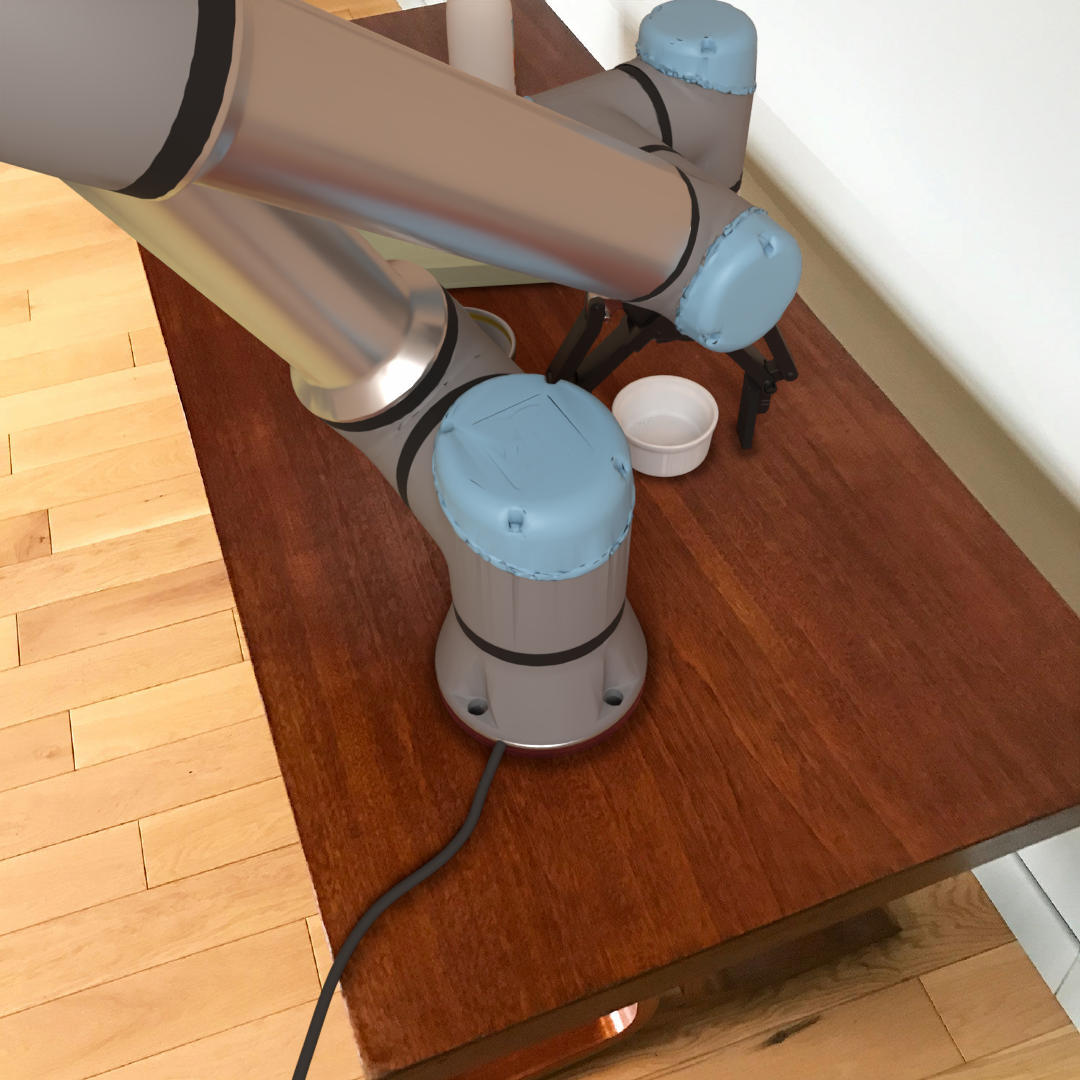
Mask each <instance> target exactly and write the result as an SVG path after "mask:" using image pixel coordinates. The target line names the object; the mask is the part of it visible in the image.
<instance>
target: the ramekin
mask: <svg viewBox="0 0 1080 1080" xmlns="http://www.w3.org/2000/svg"><path fill="white" fill-rule="evenodd" d="M715 399H716V398H715V397H714V396H713V395H712V393H711V392H710V391H709V390H708V389H707V388H705V386H702V385H701V384H700V383H698V382H696V381H693V380H691V379H688V378H685V377H682V376H677V375H670V374H669V375H666V374H660V375H659V374H657V375H650V376H646V377H642V378H638V379H637V380H634V381H632V382H630V383H628V384H627V385H625V386H624V387H623V388H622V389H621V390H620V391H618V393H617V394H616V396H615V398H614V399H613V402H612V405H611V413H612V414H613V415H614V416H615V418H616V419H617V421H618V422H619V424H620V426H621V427H622V429H623V431H624V434H625V436H626V439H627V441H628V445H629V448H630V453H631V460H632V470H633V469H634V470H635V471H637V472H640V473H642V474H645V475H647V476H651V477H659V478H661V477H662V478H669V477H677V476H681V475H684V474H688V473H689V472H691V471H693V470H695V469H696V468H698V467H699V466H700V465H701V464H702V463H703V461H705V459H706V457H707V456H708V454H709V453H708V452H709V449H710V445H711V443H712V442H711V441H712V438H713V434H714V431H715V429H716V426H717V424H718V420H719V407H718V403H717V401H716V400H715Z"/></svg>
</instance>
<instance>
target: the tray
mask: <svg viewBox="0 0 1080 1080" xmlns="http://www.w3.org/2000/svg"><path fill="white" fill-rule="evenodd" d="M355 229H356V230H357V231H358V232H359V233H360V234H361V235H362V236H363V237H364V238H365V239H366V240H367V241H368V242H369V243H370V245H371V246H372V247H373V248H374V249H375V250H376V251H377V252H378V253H379V254H380V255H381V256H382V257H383V258H384V259H385V260H391V259H397V260H405V261H409V262H413V263H415V264H417V265H420V266H421V267H423V268H424V269H425V270H427V271H428V272H429V273H431V274H432V275H433V276H434V277H435V278H436V280H437V281H438V282H439V283H440V284H441V285H442V286H443V287H444V288H445V289H446V290H447V289H461V288H463V289H464V288H476V287H477V288H478V287H495V286H496V287H497V286H510V285H511V286H512V285H529V284H545V283H546V284H547V283H548V284H549V283H551V282H550V281H547V280H543V279H539V278H536V277H532V276H528V275H525V274H521V273H517V272H514V271H510V270H506V269H503V268H499V267H496V266H492V265H488V264H485V263H481V262H477V261H474V260H470V259H466V258H463V257H459V256H455V255H452V254H448V253H444V252H441V251H437V250H434V249H430V248H426V247H423V246H419V245H415V244H412V243H408V242H404V241H401V240H397V239H393V238H390V237H386V236H382V235H379V234H375V233H372V232H368V231H364V230H361V229H357V228H355Z"/></svg>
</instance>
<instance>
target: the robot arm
mask: <svg viewBox="0 0 1080 1080" xmlns="http://www.w3.org/2000/svg"><path fill="white" fill-rule="evenodd" d="M758 39H759V38H758V31H757V27H756V25H755V23H754V21H753V20H752V18H751V17H750V16H749V15H748V14H747V13H746V12H745V11H743V10H742V9H739V8H737V7H735V6H734V5H732V4H731V3H728V2H726V1H722V0H669V1H666V2H662V3H660V4H658V5H656V6H654V7H653V8H652V10H651V11H650V13H647V14H646V15H645V16H644V17H643V18H642V19H641V22H640V24H639V28H638V37H637V41H636V42H635V44H634V46H635V54H636V56H635V57H634V58H632V59H631V60H626V61H624V62H622V63H618V64H617V65H615V66H614V67H613V68H610V69H607V70H604V71H601V72H598V73H595V74H592V75H589V76H585V77H582V78H580V79H577V80H574V81H571V82H568V83H565V84H562V85H559V86H555V87H553V88H550V89H547V90H544V91H541V92H538V93H534V94H532V95H526V96H525V95H524V96H520V95H518V94H517V93H516V94H514V93H511V92H509V91H507V90H505V89H502V88H500V87H498V86H496V85H493V84H491V83H489V82H486V81H484V80H482V79H480V78H477V77H475V76H473V75H470V74H468V73H466V72H464V71H461V70H459V69H457V68H455V67H452V66H450V65H449V63H448V64H447V63H445V62H444V61H441V60H439V59H436V58H435V57H432V56H429V55H427V54H425V53H423V52H421V51H418V50H416V49H413V48H412V47H409V46H407V45H404V44H402V43H400V42H398V41H396V40H394V39H391V38H389V37H386V36H385V35H382V34H380V33H377V32H375V31H373V30H371V29H368V28H366V27H365V26H364V27H363V26H361V25H359V24H357V23H354V22H352V21H350V20H348V19H346V18H343V17H340V16H339V15H336V14H334V13H332V12H329V11H327V10H325V9H323V8H321V7H318V6H317V5H316V6H315V5H313V4H312V3H309V2H306V1H304V0H0V163H3V164H6V165H10V166H14V167H18V168H21V169H24V170H28V171H31V172H36V173H38V174H42V175H46V176H49V177H53V178H57V179H58V180H60V181H61V182H63V183H64V184H65V185H66V186H67V187H69V188H70V189H71V190H73V191H74V192H75V193H76V194H77V195H78V196H80V197H81V198H82V199H84V200H85V201H86V202H88V203H89V204H90V205H91V206H92V207H93V208H95V209H96V210H97V211H99V212H100V213H101V214H102V215H103V216H105V217H106V218H107V219H109V220H110V221H111V222H112V223H113V224H115V225H116V226H118V227H119V228H120V230H122V231H124V232H125V233H126V234H127V235H128V236H130V237H131V238H132V239H133V240H135V241H136V242H137V243H139V244H140V245H141V246H142V247H143V248H145V249H146V250H147V251H148V252H149V253H151V254H152V255H153V256H155V257H156V258H157V259H158V260H159V261H161V262H162V263H163V264H165V265H166V266H167V267H168V268H169V269H171V270H172V271H173V272H175V274H177V275H178V276H179V277H181V279H183V280H185V281H186V282H187V283H188V284H189V285H190V286H192V287H193V288H194V289H196V290H197V291H198V292H199V293H200V294H202V295H203V296H204V297H205V298H207V299H208V300H209V301H210V302H212V303H213V304H214V305H215V306H217V307H218V308H219V309H221V310H222V311H223V312H224V313H226V315H228V316H229V317H230V318H232V319H233V320H234V321H235V322H237V323H238V324H239V325H240V326H242V327H243V328H244V329H245V330H247V331H248V332H249V333H251V334H252V335H253V336H254V337H255V338H257V339H258V340H259V341H260V342H261V343H263V345H265V346H266V347H268V348H269V349H270V350H271V351H273V352H274V353H275V354H276V355H278V356H279V357H280V358H281V359H282V360H284V361H285V362H286V363H288V364H289V373H290V381H291V385H292V388H293V390H294V393H295V395H296V397H297V398H298V400H299V401H300V403H301V404H302V405H303V406H304V407H305V408H306V409H307V410H308V411H309V412H311V413H312V414H313V415H314V416H315V417H317V418H318V419H320V420H321V421H322V422H324V423H325V424H326V425H327V426H328V427H330V428H331V429H333V430H334V431H335V432H336V433H338V434H339V435H341V436H342V437H343V438H344V439H345V440H346V441H348V442H349V443H351V444H352V445H353V446H355V447H356V448H357V449H358V450H359V451H360V452H361V453H362V454H363V455H364V456H365V457H366V458H368V460H369V461H370V462H371V463H372V464H373V465H374V466H375V467H376V469H377V470H378V471H379V472H380V473H381V475H382V476H383V477H384V478H385V479H386V481H387V482H388V483H389V485H390V486H391V488H392V489H393V490H394V491H395V492H396V493H397V495H398V496H399V498H400V499H401V500H402V501H403V503H404V504H405V506H407V508H408V509H409V510H410V511H411V513H412V514H413V515H414V517H415V518H416V520H417V521H418V522H419V523H420V525H421V526H422V527H423V528H424V530H425V531H426V532H427V533H428V534H429V536H430V537H431V538H432V539H433V541H434V542H435V543H436V544H437V546H438V548H439V549H440V551H441V553H442V554H443V556H444V559H445V561H446V564H447V568H448V569H447V570H448V577H449V584H450V593H451V599H452V600H451V603H450V606H449V609H448V611H447V614H446V616H445V619H444V621H443V623H442V626H441V628H440V631H439V634H438V638H437V642H436V646H435V651H434V652H435V653H434V669H435V676H436V682H437V685H438V686H437V687H438V691H439V695H440V698H441V700H442V703H443V705H444V707H445V708H446V710H447V712H448V714H449V715H450V716H451V718H452V720H453V721H454V722H455V723H456V724H457V725H458V726H459V728H461V730H462V731H464V732H465V733H466V734H467V735H469V737H471V738H472V739H474V740H475V741H477V742H479V743H480V744H482V745H484V746H486V747H487V748H489V749H492V751H491V753H490V756H489V758H488V759H487V763H486V766H485V768H484V771H483V773H482V775H481V777H480V780H479V782H478V785H477V788H476V790H475V793H474V796H473V799H472V803H471V807H470V808H469V811H468V814H467V817H466V818H465V821H464V823H463V824H462V826H461V827H460V829H459V830H458V832H457V833H456V834H455V836H454V837H453V838H452V839H451V841H450V842H449V843H448V844H447V845H446V846H445V847H443V849H442V850H440V852H438V853H437V854H436V855H435V856H434V857H433V858H431V859H430V860H429V861H428V862H426V863H425V864H423V865H422V866H421V867H420V868H418V869H417V870H415V871H413V872H412V873H411V874H409V875H408V876H407V877H405V878H403V879H402V880H401V881H399V882H398V883H397V884H395V885H394V886H392V887H391V888H390V889H389V890H388V891H386V892H385V893H383V895H382V896H381V897H379V898H378V899H377V901H375V902H374V903H373V904H372V905H371V906H370V907H369V908H368V910H366V911H365V912H364V913H363V915H362V917H361V918H360V919H359V920H358V922H357V923H356V925H355V926H354V927H353V928H352V930H351V932H350V933H349V935H348V936H347V938H346V939H345V940H344V942H343V944H342V946H341V948H340V950H339V951H338V953H337V954H336V957H335V959H334V960H333V963H332V964H331V967H330V969H329V971H328V973H327V975H326V978H325V981H324V983H323V986H322V988H321V991H320V993H319V996H318V999H317V1001H316V1005H315V1007H314V1011H313V1014H312V1017H311V1020H310V1023H309V1025H308V1029H307V1032H306V1035H305V1038H304V1041H303V1043H302V1044H303V1045H302V1047H301V1050H300V1053H299V1055H298V1058H297V1062H296V1064H295V1068H294V1071H293V1074H292V1077H291V1080H306V1079H307V1076H308V1072H309V1070H310V1066H311V1063H312V1060H313V1057H314V1054H315V1052H316V1048H317V1045H318V1042H319V1039H320V1036H321V1033H322V1029H323V1027H324V1023H325V1020H326V1018H327V1015H328V1011H329V1008H330V1005H331V1003H332V1002H331V1001H332V1000H333V998H334V995H335V991H336V988H337V987H338V984H339V981H340V979H341V977H342V975H343V972H344V970H345V969H346V967H347V964H348V962H349V960H350V959H351V957H352V955H353V953H354V952H355V949H356V948H357V947H358V945H359V943H360V941H361V940H362V939H363V937H364V936H365V934H366V933H367V931H368V930H369V929H370V928H371V926H372V925H373V923H374V922H375V921H376V920H377V919H378V918H379V917H380V916H381V915H382V914H383V912H385V911H386V910H387V909H388V908H389V907H390V906H391V905H392V904H393V903H395V902H396V901H397V900H399V898H401V897H402V896H403V895H405V894H406V893H407V892H409V891H410V890H412V889H413V888H414V887H416V886H417V885H419V884H420V883H422V882H423V881H424V880H426V879H428V878H429V877H430V876H431V875H433V874H434V873H435V872H436V871H438V870H439V869H441V868H442V867H443V866H444V865H445V864H446V863H448V862H449V861H450V860H451V859H452V858H453V857H454V856H455V855H456V853H458V851H459V850H460V849H461V848H462V847H463V845H464V844H465V843H466V842H467V840H469V837H470V836H471V835H472V833H473V832H474V831H475V828H476V826H477V824H478V822H479V819H480V817H481V815H482V811H483V808H484V805H485V802H486V799H487V795H488V793H489V789H490V787H491V784H492V782H493V779H494V777H495V775H496V772H497V770H498V767H499V765H500V763H501V760H502V758H503V755H504V754H506V755H510V756H514V757H518V758H524V759H525V758H526V759H536V760H537V759H538V760H539V759H540V760H541V759H542V760H543V759H555V758H562V757H567V756H571V755H574V754H575V755H576V754H578V753H581V752H584V751H586V750H589V749H592V748H593V747H596V746H597V745H599V744H601V743H603V742H604V741H606V740H608V739H609V738H610V737H612V736H613V735H614V734H616V732H618V731H619V730H620V729H621V728H622V727H623V726H624V725H625V724H626V723H627V722H628V720H629V719H630V718H631V716H632V715H633V713H634V712H635V711H636V709H637V707H638V705H639V703H640V701H641V699H642V696H643V692H644V689H645V686H646V679H647V672H648V671H647V670H648V647H647V642H646V637H645V634H644V632H643V629H642V625H641V624H640V622H639V620H638V617H637V615H636V613H635V611H634V609H633V607H632V605H631V603H630V601H629V599H628V597H627V593H626V592H627V586H628V585H627V584H628V572H629V571H628V570H629V561H630V549H631V539H632V538H631V537H632V527H633V526H632V525H633V518H634V509H635V505H636V486H635V478H634V472H633V468H632V460H631V453H630V448H629V445H628V441H627V439H626V436H625V434H624V431H623V429H622V427H621V426H620V424H619V422H618V421H617V419H616V418H615V416H614V415H613V414H612V410H610V409H609V408H608V407H607V406H606V405H605V403H603V402H602V401H601V400H600V399H599V398H597V397H596V396H595V395H593V391H594V390H596V388H597V387H599V386H600V384H602V383H603V382H604V381H605V380H606V379H607V378H608V377H609V376H610V375H611V374H612V373H613V372H614V371H615V370H617V369H618V368H619V367H620V366H621V364H623V363H624V362H625V361H626V360H627V359H628V358H629V357H630V356H631V355H632V354H633V353H639V352H641V351H642V350H643V349H644V348H645V347H646V346H647V345H648V344H649V343H650V342H651V341H655V343H656V345H658V344H668V343H671V342H676V341H680V342H696V343H698V344H699V345H701V346H702V347H704V349H707V350H708V351H711V352H716V353H725V354H727V355H728V357H730V359H731V360H733V361H734V363H736V364H737V365H738V366H739V368H741V369H742V370H743V371H744V374H743V380H742V381H743V382H742V386H741V394H740V400H739V401H740V402H739V407H738V408H739V409H738V413H737V414H738V415H737V423H736V430H737V435H738V439H739V442H740V445H741V450H750V449H752V445H753V440H754V433H755V427H756V421H757V415H765V414H767V412H768V411H769V409H770V403H771V399H772V395H775V393H777V391H778V386H777V383H779V382H780V381H783V380H784V381H785V382H794V381H796V380H797V379H798V378H799V372H798V368H797V365H796V363H795V360H794V357H793V354H792V350H791V349H790V347H789V344H788V342H787V341H786V339H785V337H784V335H783V332H782V330H781V328H780V326H779V323H778V322H779V321H780V320H781V318H782V317H783V314H784V312H786V309H787V308H788V306H789V305H790V303H791V302H792V301H793V300H794V298H795V296H796V294H797V291H798V288H799V286H800V282H801V279H802V274H803V255H802V249H801V247H800V246H799V243H798V240H797V239H796V238H795V237H794V236H793V234H792V233H790V232H789V231H788V230H787V229H786V228H785V227H783V225H781V224H779V223H778V222H777V221H776V220H775V219H773V218H772V217H771V216H770V215H769V212H768V211H767V210H766V209H764V208H763V207H761V206H759V207H758V206H757V205H754V204H753V203H751V202H750V201H748V200H746V199H745V198H743V197H742V196H741V193H742V183H743V174H744V165H745V160H746V159H745V158H746V152H747V146H748V138H749V131H750V124H751V117H752V110H753V103H754V95H755V93H756V90H757V64H758ZM355 228H357V229H361V230H364V231H368V232H372V233H375V234H379V235H382V236H386V237H390V238H393V239H397V240H401V241H404V242H408V243H412V244H415V245H419V246H423V247H426V248H430V249H434V250H437V251H441V252H444V253H448V254H452V255H455V256H459V257H463V258H466V259H470V260H474V261H477V262H481V263H485V264H488V265H492V266H496V267H499V268H503V269H506V270H510V271H514V272H517V273H521V274H525V275H528V276H532V277H536V278H539V279H543V280H547V281H550V282H549V283H554V284H558V285H561V286H565V287H569V288H572V289H576V290H580V291H582V292H583V291H584V292H585V296H584V301H583V302H584V304H583V308H582V309H581V311H580V312H579V314H578V316H577V318H576V319H575V321H574V323H573V324H572V326H571V327H570V330H569V331H568V332H567V334H566V335H565V337H564V339H563V341H562V342H561V344H560V346H559V348H558V349H557V351H556V353H555V354H554V356H553V357H552V359H551V361H550V363H549V364H548V366H547V368H546V370H545V373H544V374H540V373H525V371H524V370H523V369H522V368H521V367H519V365H518V364H517V363H516V362H515V363H514V362H513V360H512V359H511V358H510V357H509V356H508V355H507V354H506V353H505V352H504V351H503V350H502V349H501V348H500V347H499V346H498V345H497V344H496V343H495V342H494V341H493V340H492V339H491V338H490V337H489V336H488V335H487V334H486V333H485V332H484V331H483V330H482V329H481V328H480V326H479V325H478V324H477V323H476V322H475V321H474V320H473V319H472V318H471V316H470V315H469V314H468V312H467V311H466V310H465V309H464V308H463V307H464V306H463V305H462V304H461V303H460V302H459V301H458V300H457V299H456V298H454V296H453V295H451V293H450V292H449V291H448V290H447V289H445V288H444V287H443V286H442V285H441V284H440V283H439V282H438V281H437V280H436V278H435V277H434V276H433V275H432V274H431V273H429V272H428V271H427V270H425V269H424V268H423V267H421V266H420V265H417V264H415V263H413V262H409V261H405V260H397V259H391V260H385V259H384V258H383V257H382V256H381V255H380V254H379V253H378V252H377V251H376V250H375V249H374V248H373V247H372V246H371V245H370V243H369V242H368V241H367V240H366V239H365V238H364V237H363V236H362V235H361V234H360V233H359V232H358V231H357V230H356V229H355ZM619 310H623V312H624V314H623V316H621V318H620V320H619V324H618V325H617V326H616V327H614V329H613V330H612V331H611V332H610V333H609V334H608V335H607V336H606V337H605V338H604V339H603V340H602V341H601V342H600V343H599V344H598V345H597V346H596V347H595V348H594V349H593V350H592V351H590V350H591V348H592V346H593V345H594V343H595V341H596V340H597V338H598V337H599V335H600V333H601V332H602V329H603V325H604V324H605V323H607V324H608V323H609V322H610V321H611V318H612V317H613V315H614V314H615V313H616V312H617V311H619ZM761 338H763V340H764V342H765V344H766V345H767V347H768V349H769V352H770V354H771V356H772V359H770V360H769V359H768V358H766V356H764V355H763V353H762V352H761V351H760V350H759V349H757V347H756V346H754V344H755V343H756V342H757V341H759V340H760V339H761ZM589 351H590V352H589ZM588 353H589V354H588Z"/></svg>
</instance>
